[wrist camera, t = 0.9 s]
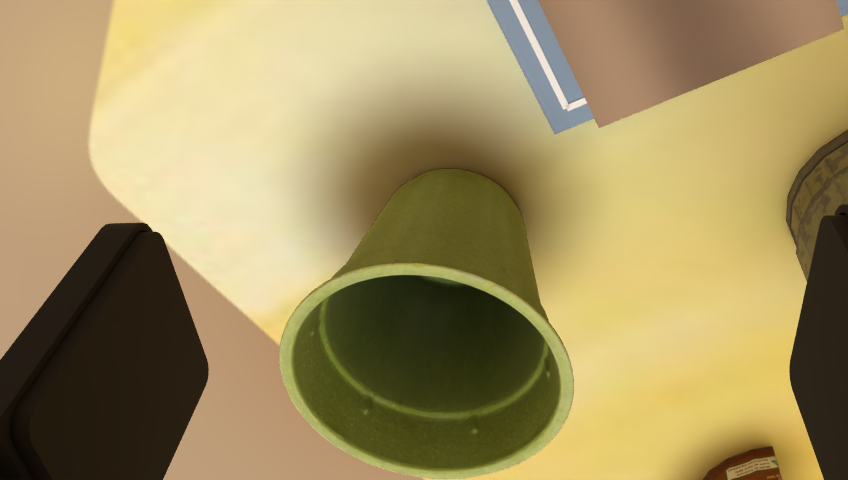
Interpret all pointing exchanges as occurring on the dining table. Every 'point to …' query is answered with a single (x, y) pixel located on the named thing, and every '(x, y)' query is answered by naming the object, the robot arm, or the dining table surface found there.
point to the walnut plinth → (675, 44)
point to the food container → (748, 467)
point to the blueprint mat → (549, 61)
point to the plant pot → (432, 338)
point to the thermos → (817, 196)
